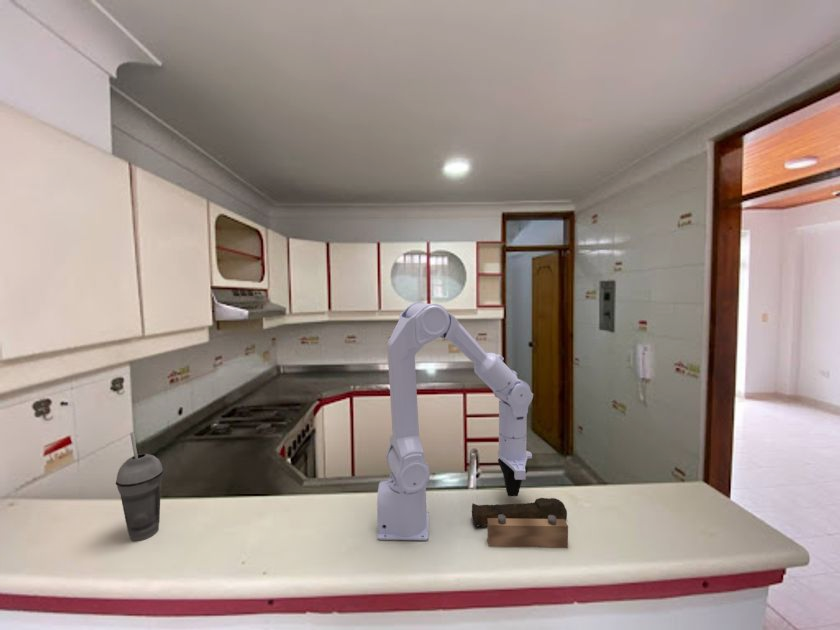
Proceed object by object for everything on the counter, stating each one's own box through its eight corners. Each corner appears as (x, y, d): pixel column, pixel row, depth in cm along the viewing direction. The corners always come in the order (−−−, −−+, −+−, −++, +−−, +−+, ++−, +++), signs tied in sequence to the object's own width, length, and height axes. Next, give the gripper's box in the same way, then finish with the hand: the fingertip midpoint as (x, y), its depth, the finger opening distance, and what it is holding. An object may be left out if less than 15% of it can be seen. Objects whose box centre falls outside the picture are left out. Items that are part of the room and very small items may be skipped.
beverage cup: (143, 548, 65) (135, 442, 64) (109, 544, 67) (101, 439, 65) (176, 523, 72) (170, 426, 71) (145, 519, 74) (138, 424, 72)
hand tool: (473, 532, 69) (473, 509, 69) (470, 518, 73) (470, 496, 73) (572, 531, 69) (572, 508, 69) (563, 517, 73) (564, 495, 73)
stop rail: (488, 546, 65) (488, 519, 64) (487, 538, 67) (487, 513, 66) (567, 547, 64) (568, 520, 64) (563, 539, 66) (564, 513, 66)
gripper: (541, 448, 69) (540, 515, 70) (523, 420, 84) (522, 476, 85) (504, 448, 69) (504, 515, 70) (492, 420, 84) (492, 476, 85)
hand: (512, 494), depth 78 cm, fingers closed
